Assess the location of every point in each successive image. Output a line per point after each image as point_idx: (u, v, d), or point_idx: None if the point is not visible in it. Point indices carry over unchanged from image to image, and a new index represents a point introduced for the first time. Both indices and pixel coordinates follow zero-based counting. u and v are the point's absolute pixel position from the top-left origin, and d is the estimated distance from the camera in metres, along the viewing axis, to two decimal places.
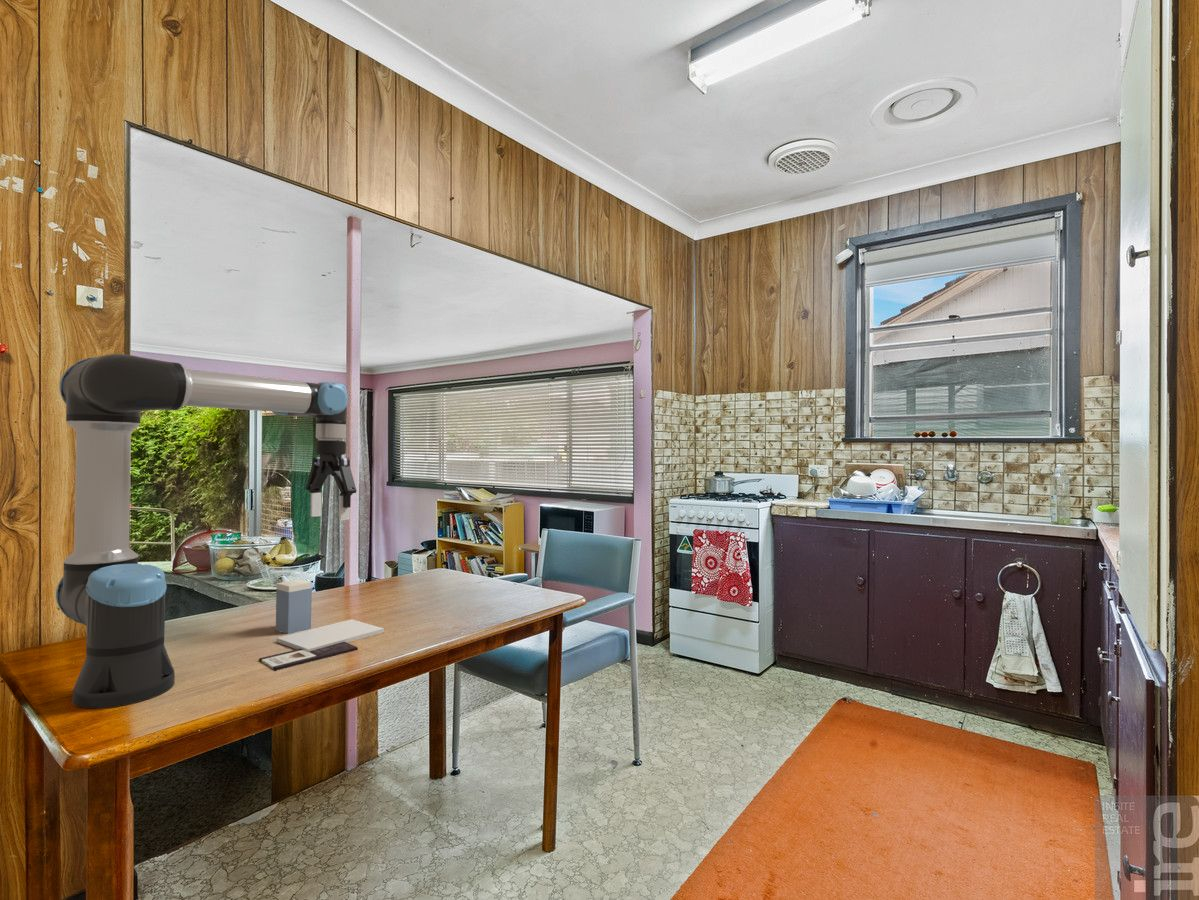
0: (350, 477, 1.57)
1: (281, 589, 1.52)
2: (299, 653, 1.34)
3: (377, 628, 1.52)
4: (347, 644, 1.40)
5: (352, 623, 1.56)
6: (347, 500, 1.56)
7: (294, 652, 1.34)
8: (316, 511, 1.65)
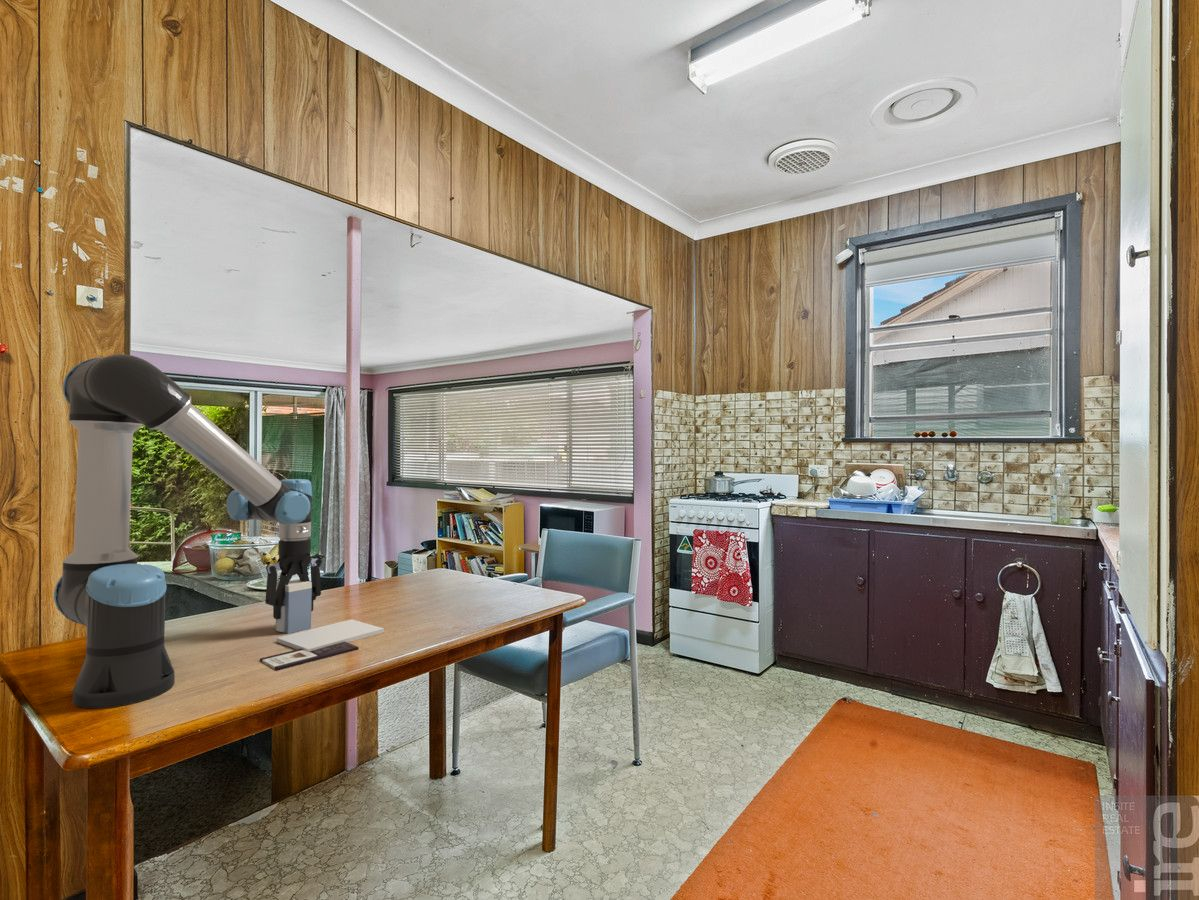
0: (269, 588, 1.48)
1: None
2: (300, 653, 1.34)
3: (377, 628, 1.52)
4: (347, 644, 1.41)
5: (352, 623, 1.56)
6: (274, 611, 1.50)
7: (295, 652, 1.34)
8: None
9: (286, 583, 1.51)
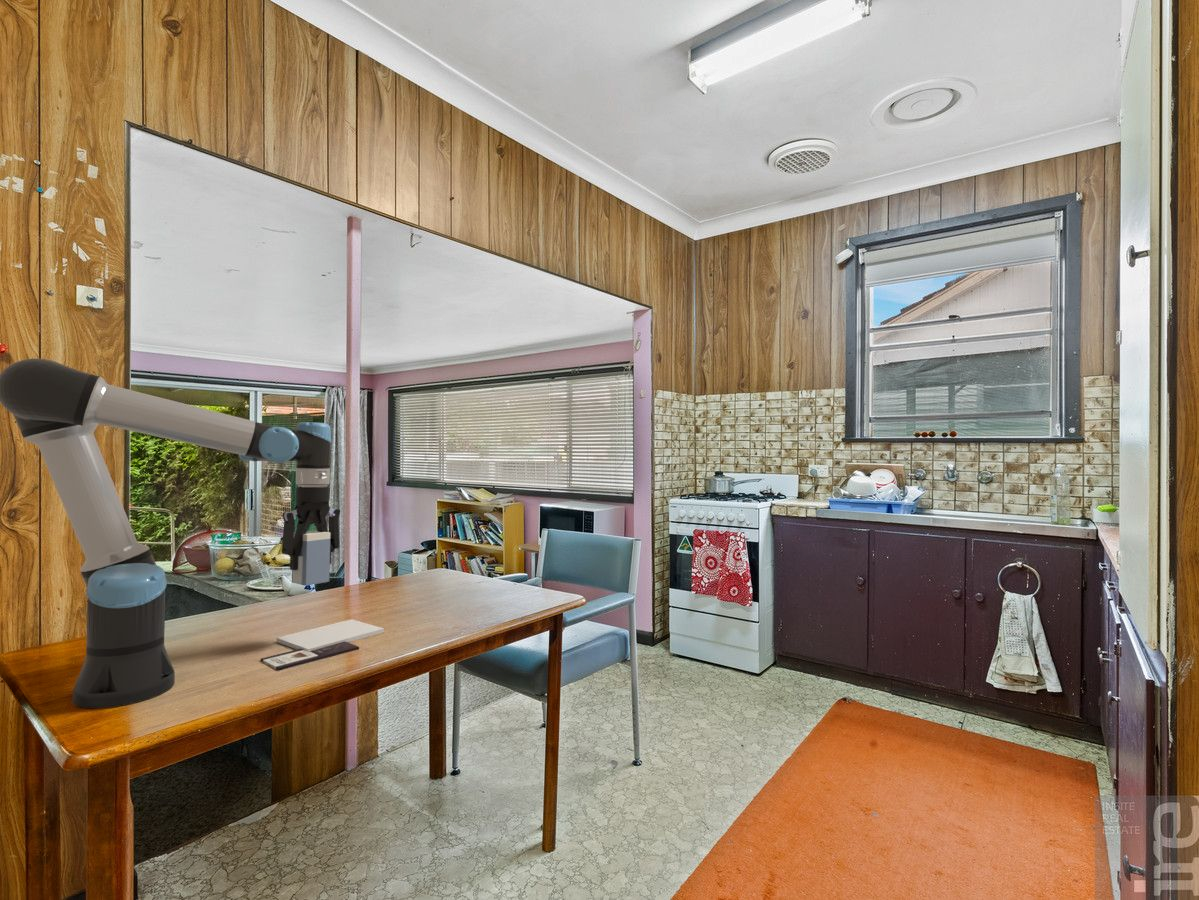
0: (287, 536, 1.39)
1: None
2: (300, 653, 1.34)
3: (377, 628, 1.52)
4: (348, 644, 1.41)
5: (352, 623, 1.56)
6: (291, 561, 1.40)
7: (296, 652, 1.34)
8: None
9: (304, 532, 1.42)
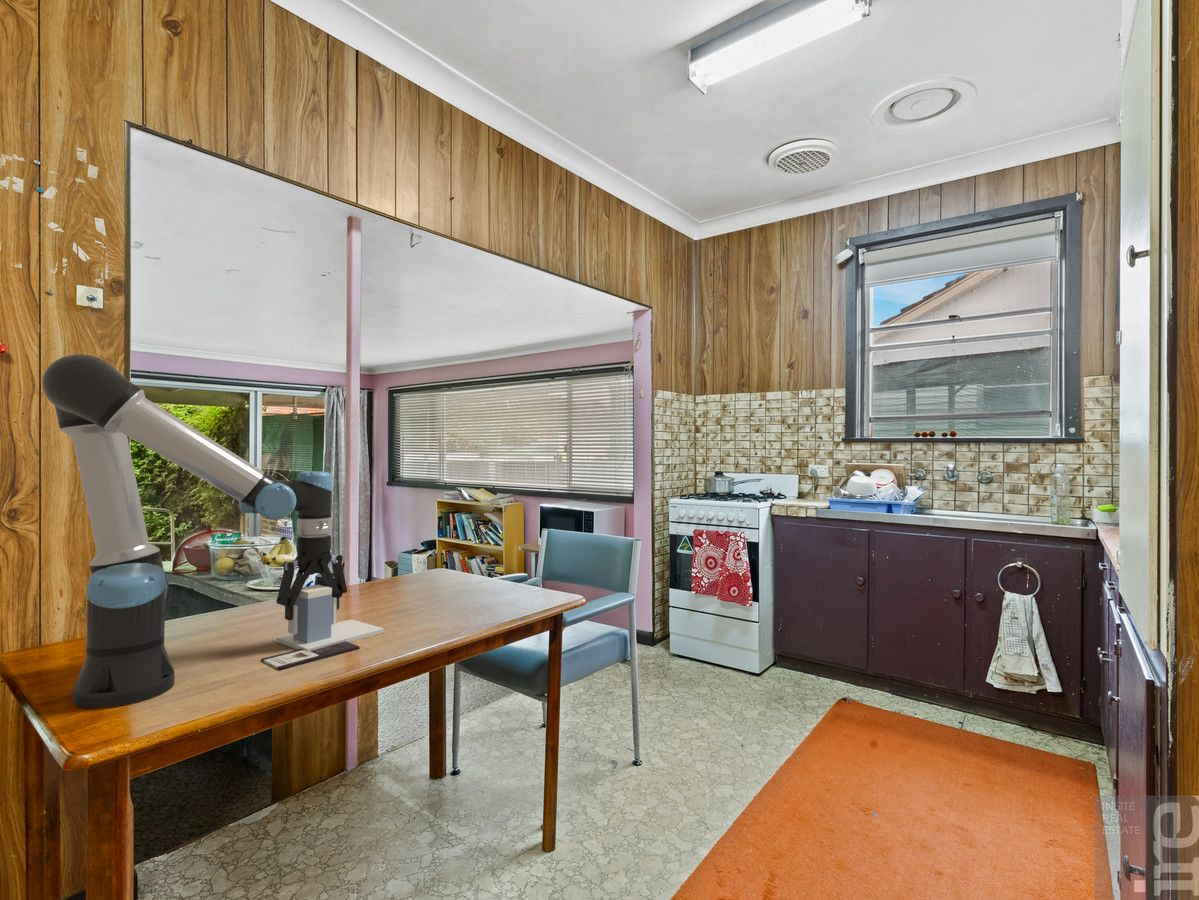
0: (284, 586, 1.37)
1: (299, 595, 1.41)
2: (301, 653, 1.34)
3: (377, 628, 1.52)
4: (348, 644, 1.41)
5: (352, 623, 1.56)
6: (286, 611, 1.38)
7: (296, 652, 1.34)
8: None
9: (302, 582, 1.40)
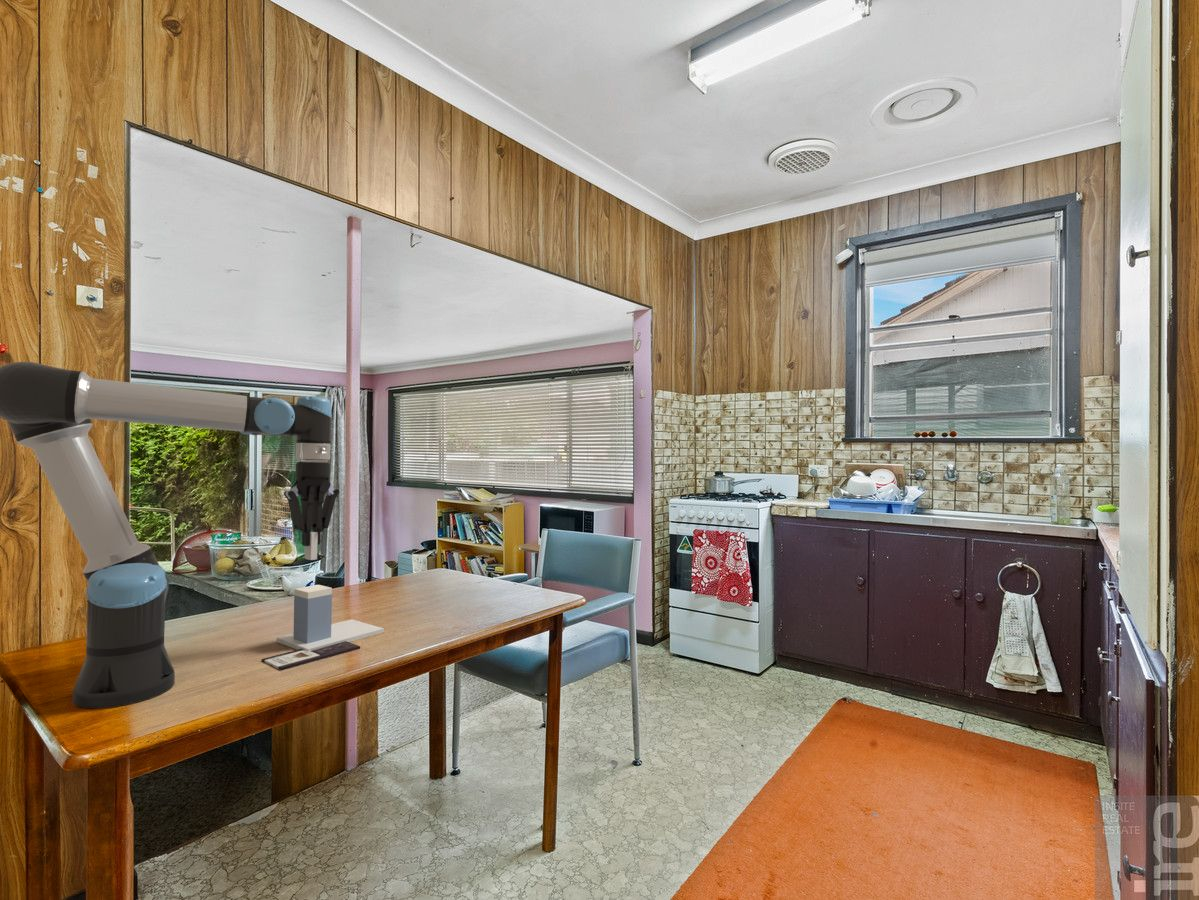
0: (294, 514, 1.39)
1: (299, 595, 1.41)
2: (301, 653, 1.34)
3: (377, 628, 1.52)
4: (348, 643, 1.41)
5: (352, 623, 1.56)
6: (303, 537, 1.41)
7: (297, 652, 1.34)
8: None
9: (310, 508, 1.41)
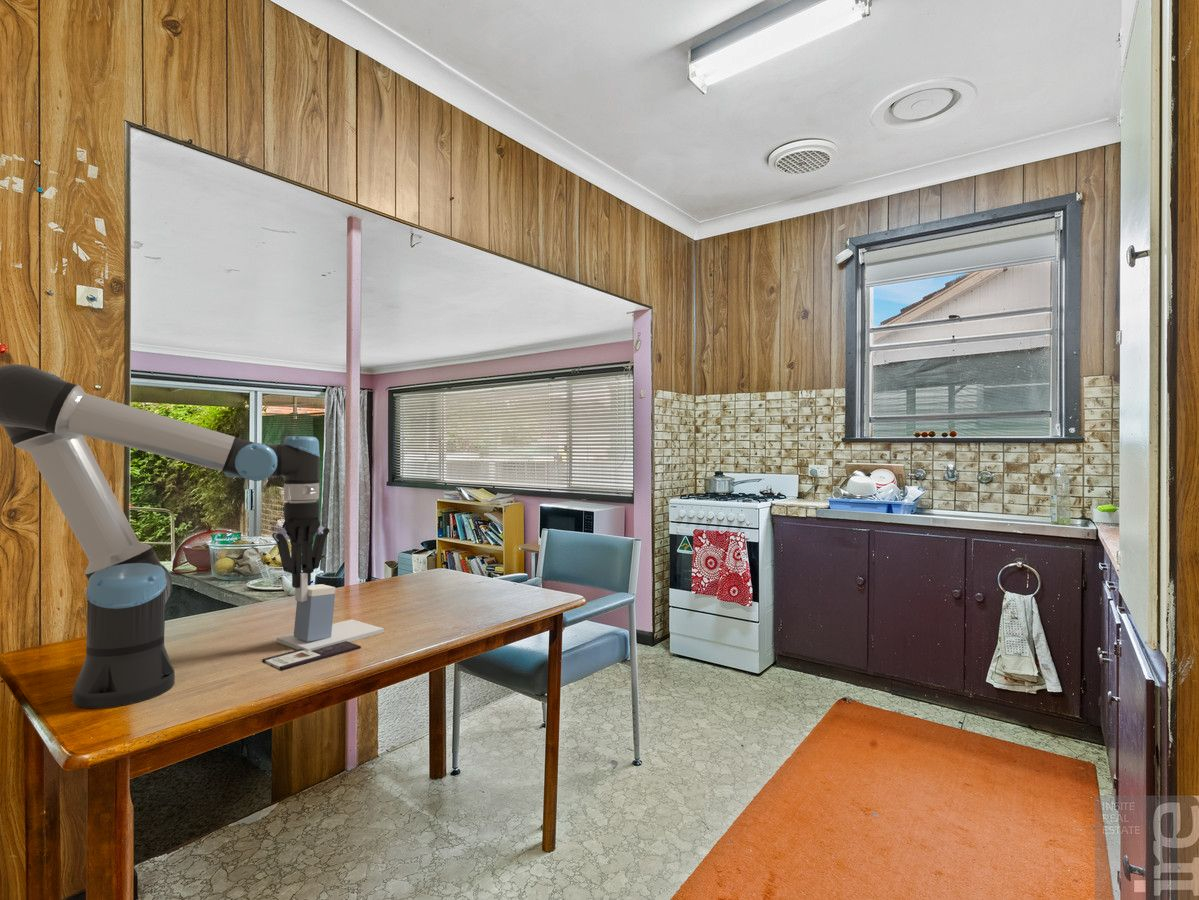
0: (283, 556, 1.37)
1: None
2: (302, 653, 1.34)
3: (377, 628, 1.52)
4: (349, 643, 1.41)
5: (352, 623, 1.56)
6: (293, 579, 1.39)
7: (297, 652, 1.34)
8: None
9: (299, 549, 1.39)
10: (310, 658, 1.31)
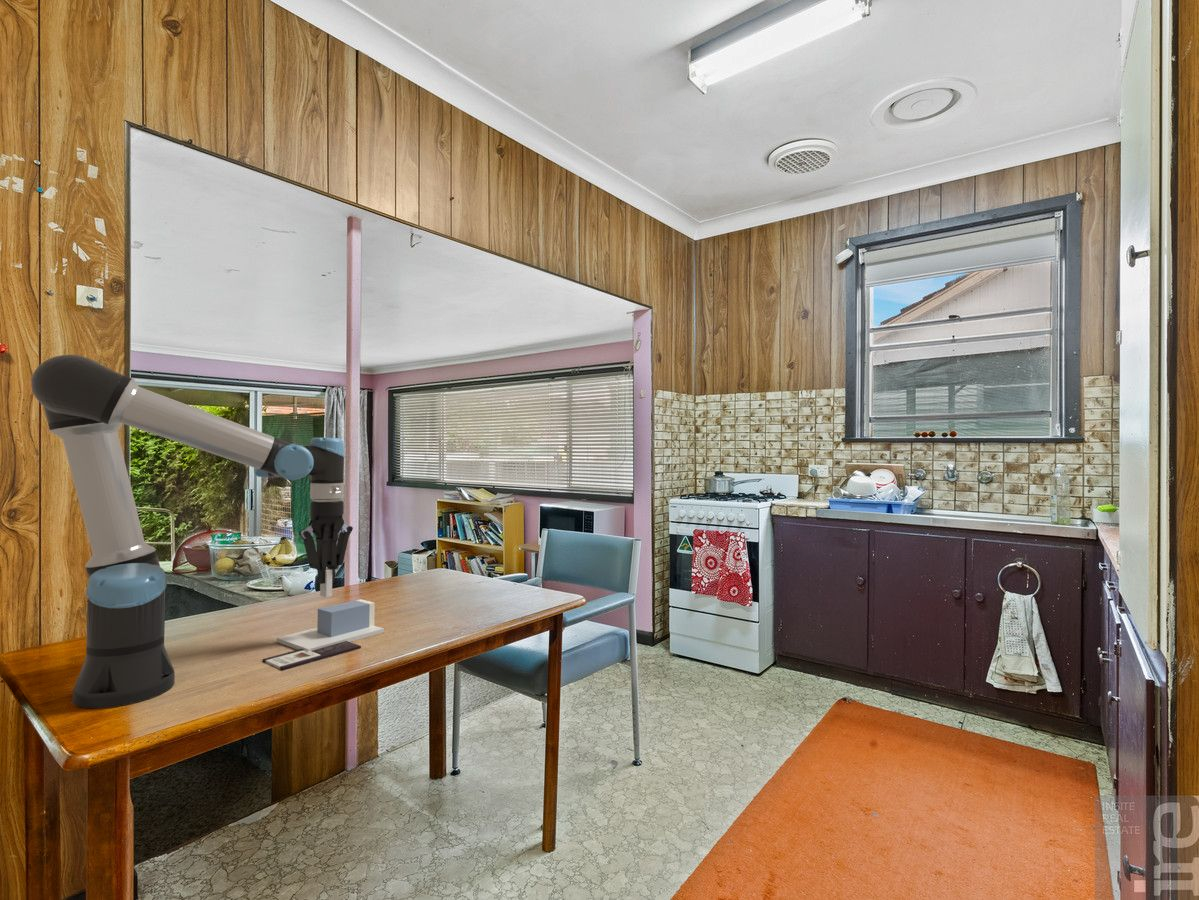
0: (310, 553, 1.42)
1: (362, 601, 1.55)
2: (302, 653, 1.34)
3: (377, 628, 1.52)
4: (349, 643, 1.41)
5: None
6: (318, 575, 1.45)
7: (298, 652, 1.34)
8: None
9: (324, 546, 1.44)
10: (310, 658, 1.31)
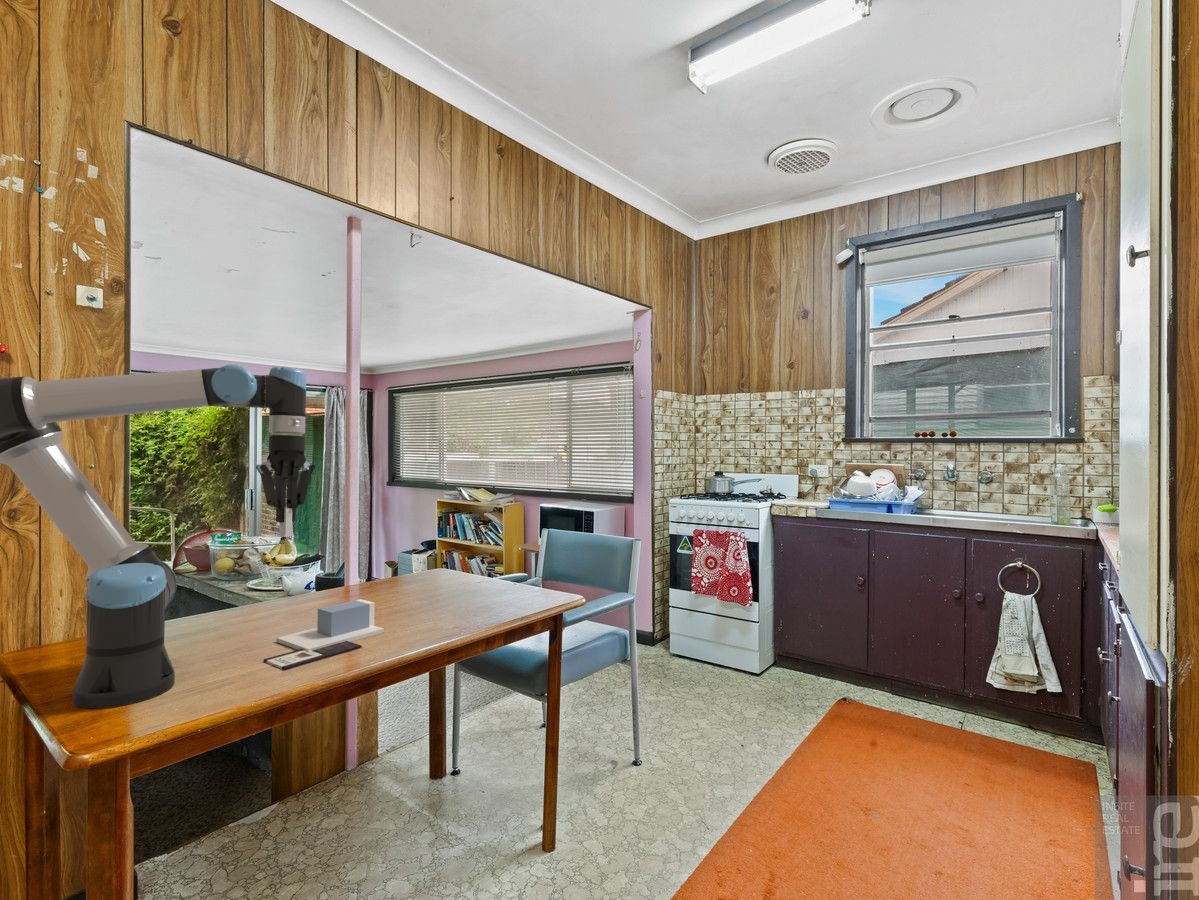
0: (267, 488, 1.34)
1: (362, 601, 1.55)
2: (303, 653, 1.34)
3: (377, 628, 1.52)
4: (349, 643, 1.41)
5: None
6: (277, 514, 1.36)
7: (298, 652, 1.34)
8: None
9: (284, 483, 1.36)
10: (312, 658, 1.31)
